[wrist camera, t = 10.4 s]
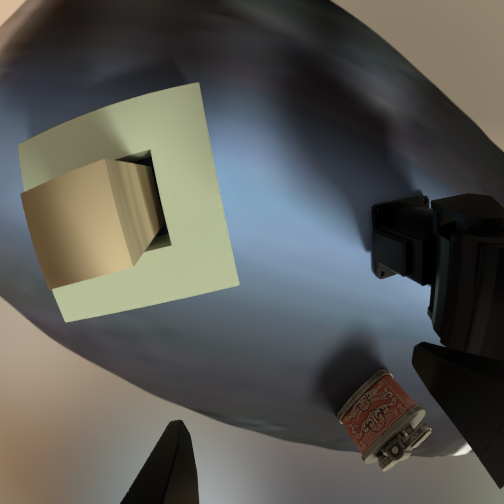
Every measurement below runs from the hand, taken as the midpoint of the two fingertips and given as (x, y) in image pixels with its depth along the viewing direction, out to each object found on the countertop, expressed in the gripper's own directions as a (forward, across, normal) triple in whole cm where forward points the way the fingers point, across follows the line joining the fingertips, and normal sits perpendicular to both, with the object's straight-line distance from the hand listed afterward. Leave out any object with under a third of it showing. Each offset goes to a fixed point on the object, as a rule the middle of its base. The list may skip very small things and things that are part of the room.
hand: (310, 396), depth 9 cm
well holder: (+13, +7, -7) cm, 16 cm away
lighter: (+13, -10, +18) cm, 24 cm away
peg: (+13, +7, -7) cm, 16 cm away
